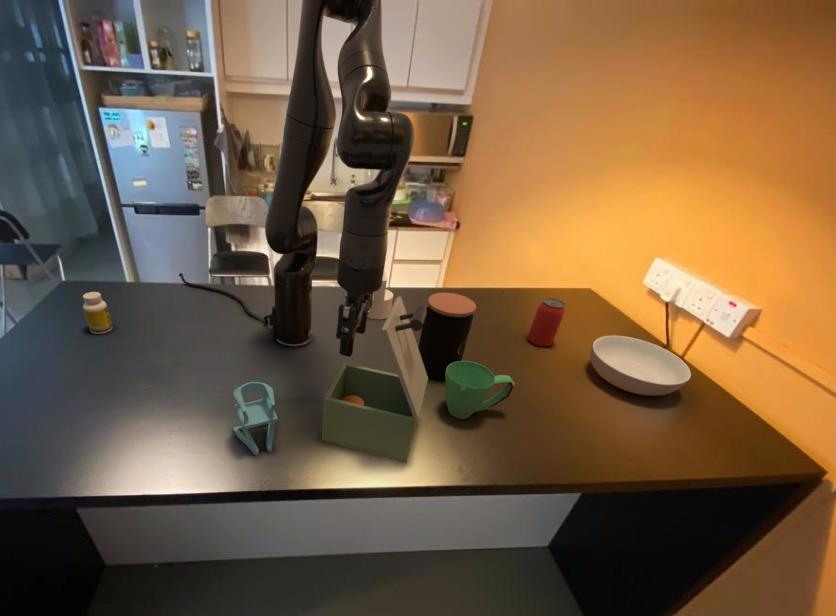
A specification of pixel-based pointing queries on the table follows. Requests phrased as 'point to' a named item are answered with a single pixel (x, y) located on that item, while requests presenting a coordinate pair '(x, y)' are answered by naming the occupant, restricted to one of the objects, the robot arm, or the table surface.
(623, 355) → the serving bowl
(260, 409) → the chair
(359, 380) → the pale green hollow box
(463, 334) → the coffee jar
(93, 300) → the supplement bottle
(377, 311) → the base with upright slab
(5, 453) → the table surface
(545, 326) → the beer can
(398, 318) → the box lid
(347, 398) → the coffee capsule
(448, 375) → the mug
